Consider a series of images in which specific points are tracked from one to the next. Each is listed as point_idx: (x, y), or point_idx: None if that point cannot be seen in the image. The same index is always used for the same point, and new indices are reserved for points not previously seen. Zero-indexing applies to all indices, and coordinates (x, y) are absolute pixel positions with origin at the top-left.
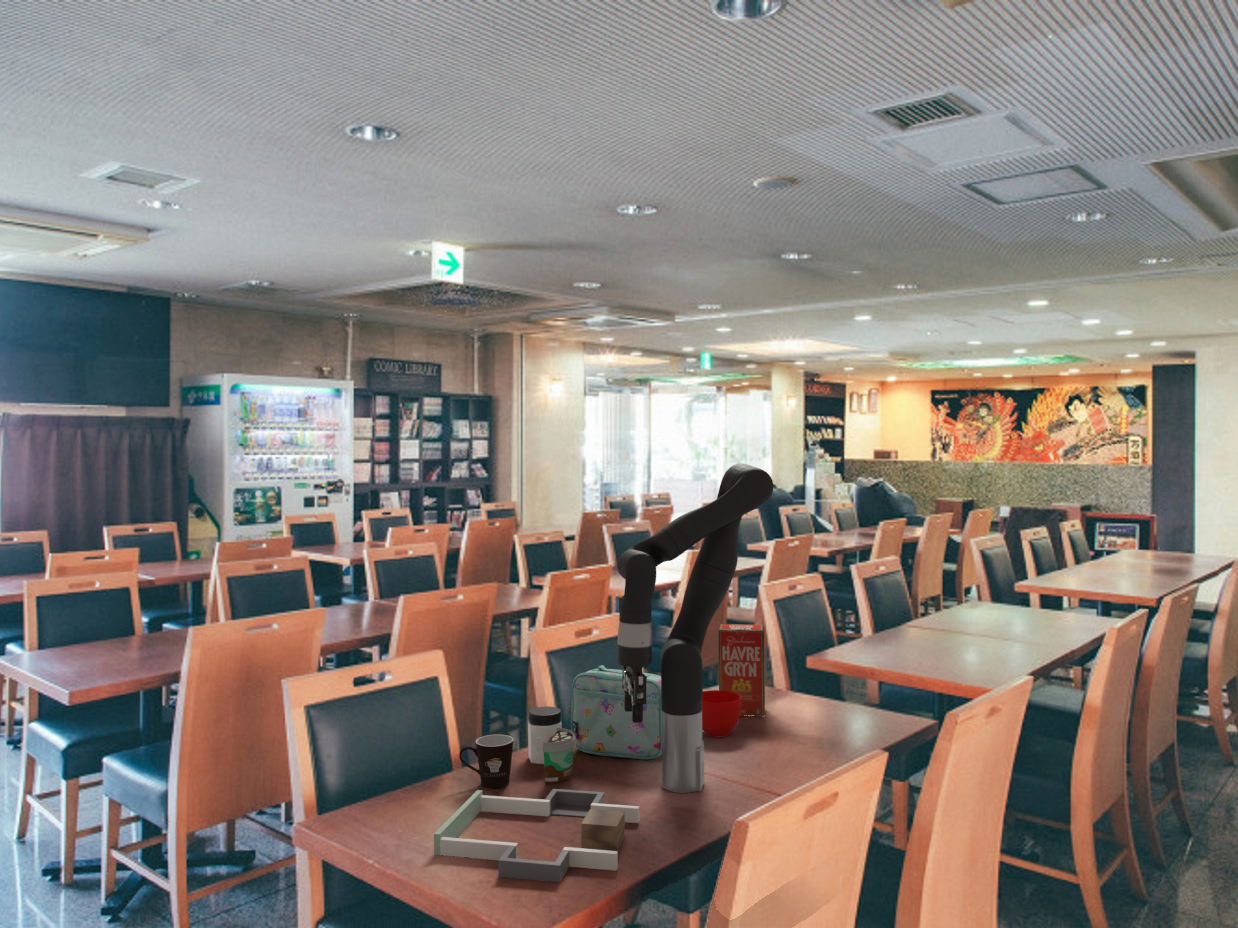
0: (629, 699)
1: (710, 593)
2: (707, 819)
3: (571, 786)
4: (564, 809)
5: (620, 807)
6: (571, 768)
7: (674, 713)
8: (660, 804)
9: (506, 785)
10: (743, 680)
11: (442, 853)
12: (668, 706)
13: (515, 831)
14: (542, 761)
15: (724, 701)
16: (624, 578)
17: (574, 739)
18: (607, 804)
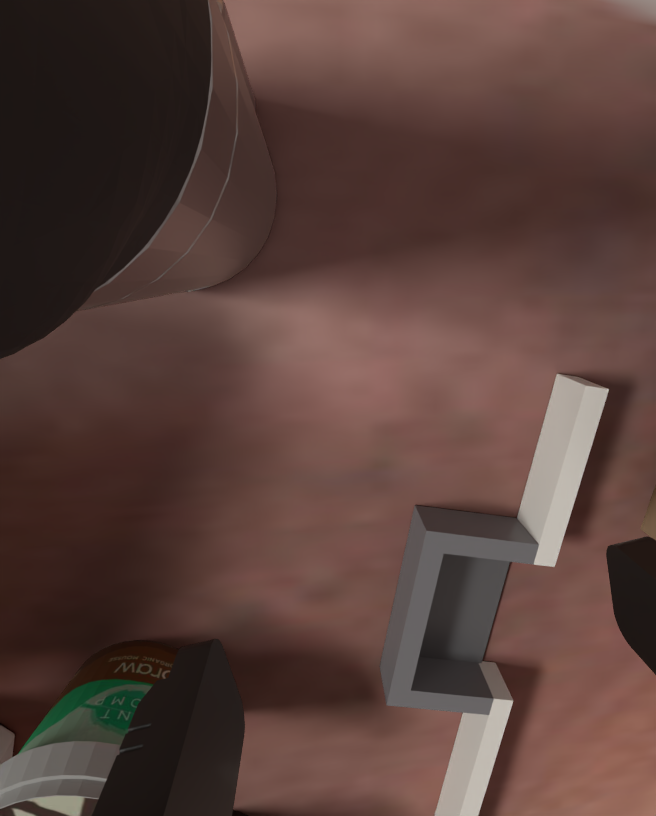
0: (206, 805)
1: None
2: (569, 85)
3: (228, 630)
4: (449, 627)
5: (587, 458)
6: (140, 669)
7: (196, 143)
8: (401, 294)
9: (240, 813)
10: None
11: None
12: (137, 221)
13: (597, 728)
14: (8, 758)
15: None
16: None
17: (86, 771)
18: (553, 508)
